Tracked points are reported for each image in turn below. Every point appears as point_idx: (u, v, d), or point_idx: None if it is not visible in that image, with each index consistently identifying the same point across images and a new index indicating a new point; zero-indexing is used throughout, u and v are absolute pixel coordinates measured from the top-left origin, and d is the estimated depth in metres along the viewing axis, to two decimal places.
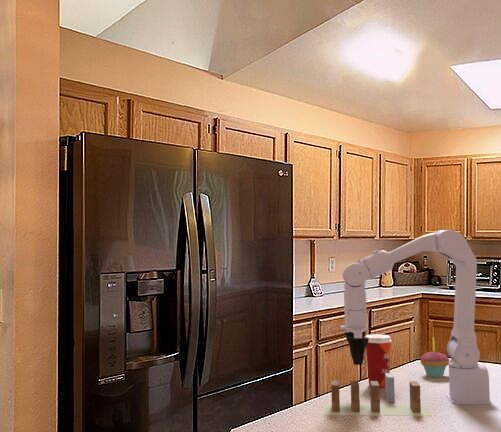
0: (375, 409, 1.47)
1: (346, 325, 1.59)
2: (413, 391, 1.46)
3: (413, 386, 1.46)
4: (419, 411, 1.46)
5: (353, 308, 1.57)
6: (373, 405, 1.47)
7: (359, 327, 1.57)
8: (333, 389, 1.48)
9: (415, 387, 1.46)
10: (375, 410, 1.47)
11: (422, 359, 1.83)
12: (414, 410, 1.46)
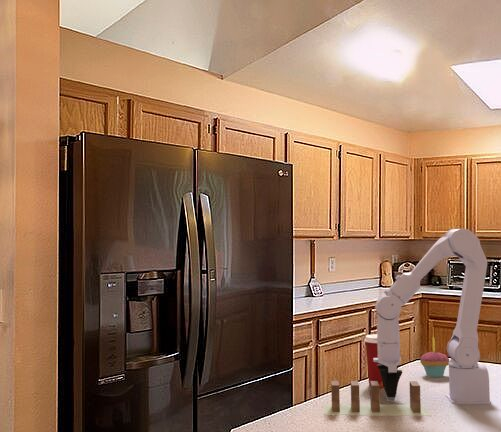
0: (375, 409, 1.47)
1: (379, 358, 1.58)
2: (413, 391, 1.46)
3: (413, 386, 1.46)
4: (419, 411, 1.46)
5: (387, 341, 1.56)
6: (373, 405, 1.47)
7: (393, 360, 1.56)
8: (333, 389, 1.48)
9: (415, 387, 1.46)
10: (375, 410, 1.47)
11: (422, 359, 1.83)
12: (414, 410, 1.46)
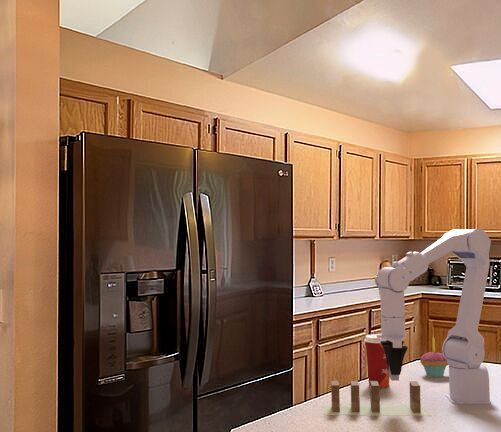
0: (375, 409, 1.47)
1: (383, 333, 1.48)
2: (413, 391, 1.46)
3: (413, 386, 1.46)
4: (419, 411, 1.46)
5: (397, 315, 1.46)
6: (373, 405, 1.47)
7: (397, 336, 1.46)
8: (333, 389, 1.48)
9: (415, 387, 1.46)
10: (375, 410, 1.47)
11: (422, 359, 1.83)
12: (414, 410, 1.46)
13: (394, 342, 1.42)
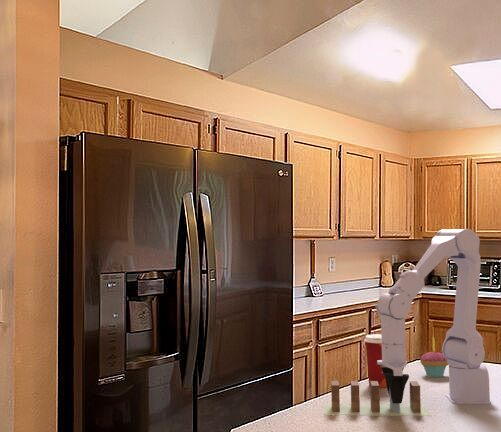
0: (375, 409, 1.47)
1: (384, 360, 1.48)
2: (413, 391, 1.46)
3: (413, 386, 1.46)
4: (419, 411, 1.46)
5: (397, 342, 1.46)
6: (373, 405, 1.47)
7: (398, 363, 1.46)
8: (333, 389, 1.48)
9: (415, 387, 1.46)
10: (375, 410, 1.47)
11: (422, 359, 1.83)
12: (414, 410, 1.46)
13: (395, 370, 1.41)
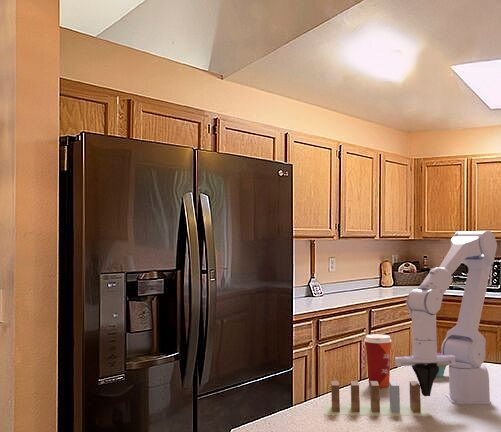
0: (375, 409, 1.47)
1: None
2: (413, 391, 1.46)
3: (413, 386, 1.46)
4: (419, 411, 1.46)
5: (431, 338, 1.45)
6: (373, 405, 1.47)
7: (415, 357, 1.47)
8: (333, 389, 1.48)
9: (415, 387, 1.46)
10: (375, 410, 1.47)
11: None
12: (414, 410, 1.46)
13: (395, 360, 1.48)
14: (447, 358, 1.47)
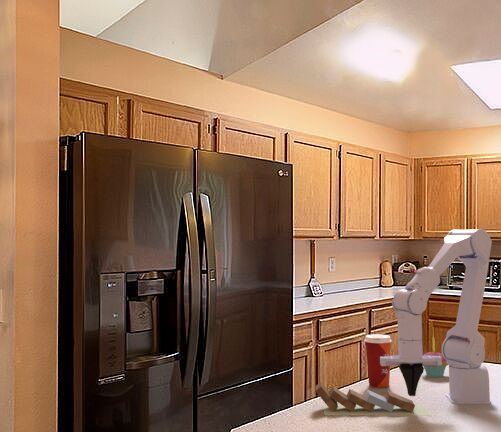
0: (370, 408, 1.47)
1: None
2: (392, 403, 1.46)
3: (388, 401, 1.46)
4: (413, 406, 1.46)
5: (415, 338, 1.46)
6: (366, 408, 1.47)
7: (399, 357, 1.48)
8: (319, 393, 1.48)
9: (389, 400, 1.46)
10: (371, 408, 1.47)
11: None
12: (410, 410, 1.46)
13: (380, 359, 1.49)
14: (432, 358, 1.47)
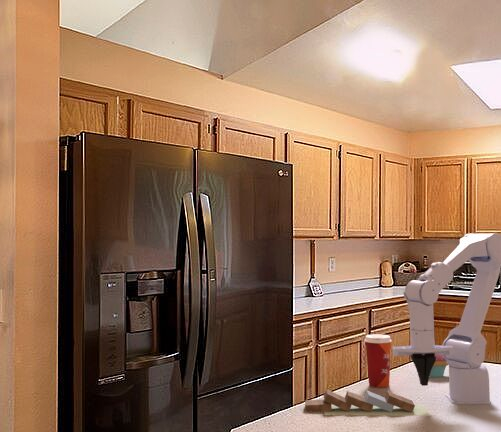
0: (369, 408, 1.47)
1: None
2: (392, 403, 1.46)
3: (388, 401, 1.46)
4: (413, 406, 1.46)
5: (428, 328, 1.47)
6: (365, 408, 1.47)
7: (412, 347, 1.49)
8: (309, 410, 1.48)
9: (389, 400, 1.46)
10: (370, 408, 1.47)
11: None
12: (410, 410, 1.46)
13: (392, 349, 1.51)
14: (444, 348, 1.49)
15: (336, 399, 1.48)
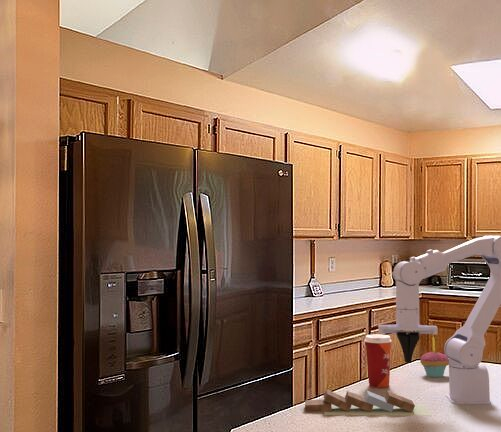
0: (369, 408, 1.47)
1: None
2: (392, 403, 1.46)
3: (388, 401, 1.46)
4: (413, 406, 1.46)
5: (408, 307, 1.53)
6: (365, 408, 1.47)
7: (397, 325, 1.55)
8: (309, 410, 1.48)
9: (389, 400, 1.46)
10: (370, 408, 1.47)
11: (422, 359, 1.83)
12: (410, 410, 1.46)
13: (378, 327, 1.57)
14: (428, 327, 1.53)
15: (336, 399, 1.48)
